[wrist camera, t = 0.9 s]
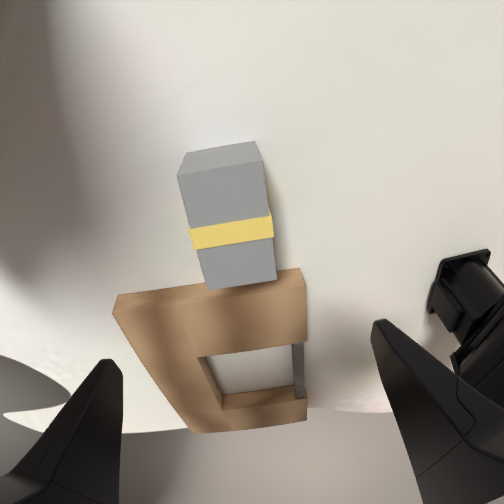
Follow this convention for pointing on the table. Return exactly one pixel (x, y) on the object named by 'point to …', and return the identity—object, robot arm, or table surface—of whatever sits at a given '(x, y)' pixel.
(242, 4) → the table surface
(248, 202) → the grey banded block
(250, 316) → the brown wooden flat frame
